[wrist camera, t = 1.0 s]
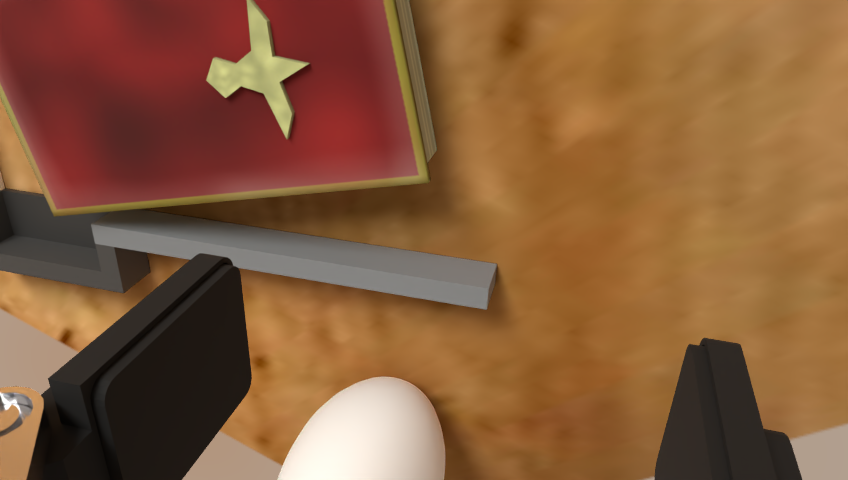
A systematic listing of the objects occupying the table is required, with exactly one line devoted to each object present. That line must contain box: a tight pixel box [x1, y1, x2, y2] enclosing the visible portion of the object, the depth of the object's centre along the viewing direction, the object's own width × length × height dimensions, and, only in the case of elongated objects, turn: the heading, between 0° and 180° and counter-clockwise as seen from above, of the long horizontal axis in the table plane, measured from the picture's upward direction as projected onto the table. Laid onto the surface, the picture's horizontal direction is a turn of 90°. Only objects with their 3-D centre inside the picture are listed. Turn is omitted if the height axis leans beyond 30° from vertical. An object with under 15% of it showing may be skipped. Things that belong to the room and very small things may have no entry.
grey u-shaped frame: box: [0, 172, 497, 310], centre depth 32 cm, size 31×26×2 cm
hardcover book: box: [0, 0, 437, 217], centre depth 31 cm, size 12×21×4 cm, turn 101°
